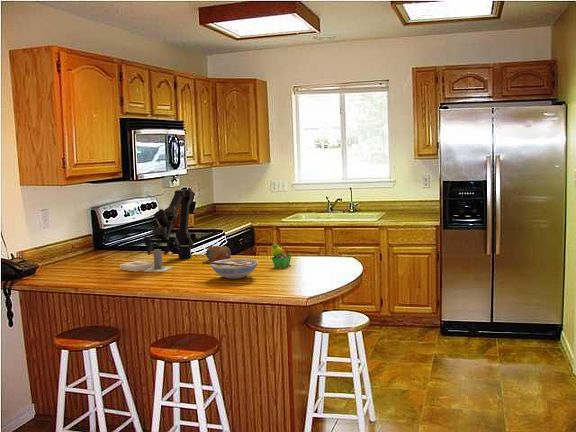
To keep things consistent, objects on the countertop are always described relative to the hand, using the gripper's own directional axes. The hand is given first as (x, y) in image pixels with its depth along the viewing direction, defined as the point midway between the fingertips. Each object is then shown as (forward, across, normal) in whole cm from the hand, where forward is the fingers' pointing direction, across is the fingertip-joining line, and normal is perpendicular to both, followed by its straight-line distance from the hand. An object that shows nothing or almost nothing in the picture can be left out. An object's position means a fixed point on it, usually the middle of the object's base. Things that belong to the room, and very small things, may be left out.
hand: (156, 254), depth 323 cm
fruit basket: (-5, +62, +17) cm, 65 cm away
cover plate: (+3, -14, +9) cm, 17 cm away
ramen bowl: (+16, +48, -4) cm, 51 cm away
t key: (+4, 0, +6) cm, 8 cm away
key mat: (+5, 0, +7) cm, 8 cm away
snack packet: (-13, +24, +25) cm, 37 cm away
